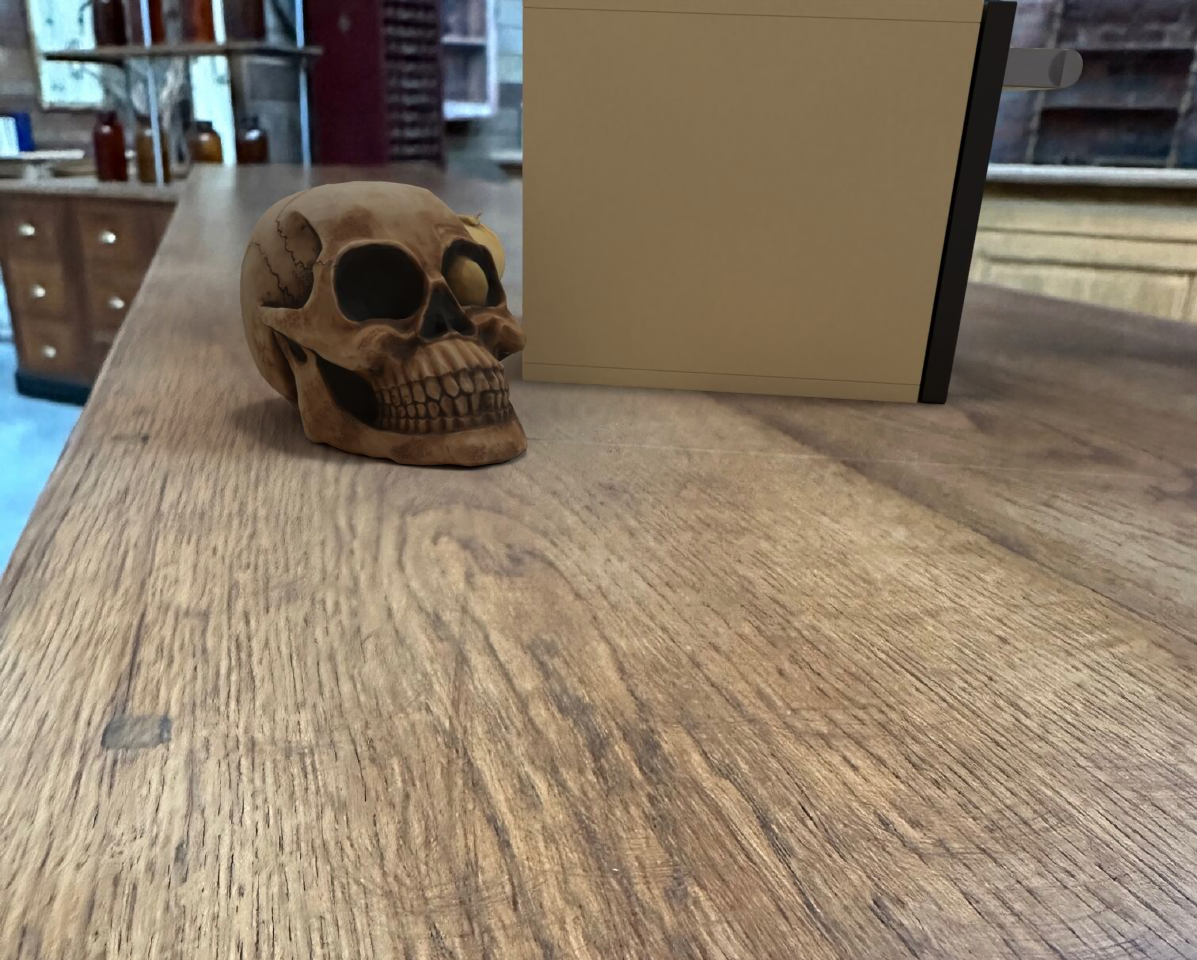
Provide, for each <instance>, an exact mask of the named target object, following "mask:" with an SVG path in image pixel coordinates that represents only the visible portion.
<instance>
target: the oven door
mask: <svg viewBox="0 0 1197 960" xmlns="http://www.w3.org/2000/svg"><path fill="white" fill-rule="evenodd" d="M1017 9H1018V1H1017V0H988V1H984V5H983V11H982V17H981V22H980V28H979V34H978V40H977V46H976V52H975V58H974V64H973V70H972V76H971V82H970V88H969V94H968V100H967V106H966V112H965V118H964V124H963V130H962V136H961V142H960V148H959V154H958V160H957V166H956V172H955V178H954V184H953V190H952V196H951V202H950V208H949V214H948V220H947V226H946V232H945V238H944V244H943V250H942V256H941V262H940V268H939V274H938V280H937V286H936V292H935V298H934V304H933V310H932V316H931V322H930V328H929V334H928V340H927V346H926V352H925V357H924V363H923V369H922V375H921V381H920V385H919V386H920V387H919V393H918V399H919V400H920V402H921V403H928V404H929V403H930V404H931V403H932V404H946V403H947V399H948V394H949V388H950V383H951V377H952V372H953V366H954V360H955V356H956V355H955V354H956V348H957V345H958V344H957V343H958V338H959V332H960V328H961V321H962V316H963V310H964V305H965V298H966V294H967V288H968V282H969V278H970V271H971V266H972V260H973V254H974V249H975V244H976V237H977V232H978V227H979V226H978V225H979V222H980V221H979V220H980V214H981V211H982V210H981V209H982V205H983V199H984V194H985V193H984V192H985V187H986V181H987V177H988V169H989V166H990V165H989V164H990V160H991V155H992V148H993V144H994V143H993V142H994V137H995V136H994V135H995V131H996V126H997V120H998V115H999V108H1000V103H1001V98H1002V92H1019V91H1023V92H1024V91H1039V90H1041V91H1042V90H1061V89H1062V90H1063V89H1067V88H1070V87H1072V86H1073V85H1074V84H1075V83H1077V81H1078V80H1079V79H1080V77H1081V75H1082V71H1083V68H1084V67H1083V66H1084V65H1083V59H1082V56H1081V54H1080V53H1079V52H1078V51H1076V49H1073V48H1058V47H1057V48H1055V47H1028V46H1027V47H1025V46H1011V41H1012V36H1013V32H1014V25H1015V19H1016V13H1017Z"/></svg>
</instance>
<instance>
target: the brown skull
mask: <svg viewBox="0 0 1197 960" xmlns="http://www.w3.org/2000/svg"><path fill="white" fill-rule="evenodd" d="M456 214H457V213H456V212H454V211H453V210H452V209H451V208H450V207H449V206H448V205H447V204H446V203H445V202H444V201H443V200H442V199H440V198H439V197H438V196H436V195H435V194H434V193H433V192H432V191H430V190H429V189H427V188H423V187H420V186H416V185H412V184H407V183H401V182H400V183H399V182H391V181H384V180H383V181H380V180H379V181H374V180H373V181H372V180H371V181H370V180H367V181H366V180H365V181H364V180H353V181H348V182H347V181H346V182H339V183H326V184H321V185H317V186H313V187H311V188H308V189H303V190H301V191H298V192H295V193H293V194H291V195H288V196H285V197H284V198H282V199H280V200H278V201H277V202H275V203H274V204H273V205H271V206H270V207H269V208H268V209H267V210H265V212H264V213H263V214H262V215H261V217H260V218H259V219H258V221H257V222H256V224H255V225H254V227H253V229H252V231H251V233H250V236H249V239H248V242H247V245H246V249H245V253H244V256H243V259H242V262H241V265H240V279H239V301H240V311H241V312H240V313H241V319H242V325H243V329H244V335H245V338H246V343H247V347H248V350H249V353H250V355H251V358H252V359H253V362H254V364H255V367H256V369H257V370H258V372H259V374H260V376H262V378H263V379H264V380H265V381H266V383H267V384H268V385H269V386H270V387H271V388H272V389H273V390H274V391H275V392H276V393H278V394H279V395H281V396H283V398H285V399H286V401H287V402H288V403H289V404H290V405H292V406H293V407H294V408H295V409H296V410H297V412H298V413H299V414H300V417H301V422H302V426H303V430H304V433H305V437H306V438H307V439H308V440H310V442H312V443H315V444H316V443H317V444H318V443H321V444H322V443H323V444H325V443H326V444H328V445H330V447H331V446H332V447H334V448H336V449H339V450H343V451H344V452H347V453H350V454H354V455H365V456H366V457H367V456H368V457H370V458H375V459H377V458H378V459H390V460H392V461H394V462H395V463H397V464H404V465H417V466H418V465H419V466H437V465H454V466H455V465H456V466H463V467H474V466H475V467H476V466H483V465H491V464H497V463H503V462H506V461H508V460H511V459H514V458H515V457H518V456H519V455H520V454H522V453H524V452H526V451H527V449H528V438H527V436H526V433H525V430H524V427H523V424H522V422H521V421H520V419H519V417H518V415H517V414H516V411H515V408H514V406H513V404H512V402H511V400H510V396H511V393H510V383H509V381H508V378H507V375H506V372H505V371H506V370H505V366H504V365H503V363H501V361H503V360H504V359H506V358H509V357H510V356H512V355H514V354H517V353H518V352H520V351H522V350H523V349H524V348H525V346H526V344H527V339H526V335H525V333H524V331H523V329H522V325H521V324H520V323H519V321H518V320H517V319H516V317H515V316H514V315H513V314H512V313H511V311H510V310H509V308H508V302H507V295H506V292H505V289H504V286H503V284H502V282H501V280H499V276H498V271H497V268H496V264H495V261H494V258H493V255H492V252H491V250H490V249H489V248H488V246H485V245H482V244H479V243H478V242H476V241H475V240H473V238H472V236H471V235H470V233H469V232H468V230H467V229H466V228H465V226H464V225H463V223H462V222H461V221H460V219H459V218H458V216H457V215H456Z"/></svg>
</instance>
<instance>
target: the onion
mask: <svg viewBox="0 0 1197 960" xmlns="http://www.w3.org/2000/svg"><path fill="white" fill-rule="evenodd" d="M455 214H456V215H457V216H458V218H459V219H460V221H461V222H462V223H463V225H464V226H465V228H466V229H467V230H468V232H469V233H470V235H471V236H472V238H473V240H475V241H476V242H478V243H479V244H482V245H485V246H488V248H489V249H490V250H491V252H492V255H493V258H494V261H495V264H496V268H497V271H498V276H499V280H500V281H501V280H502V279H503V277H504V274H505V269H506V255H505V250H504V247H503V244H502V242H501V240H500V238H499V236H498V235H497V234H496V232H495V231H493V229H491V228H490V227H488V226H487V225H486V224H484V223H482V222H481V221H480V220H479V218H480V216H481V215H483V214H484V211H481V212H479V213H477V214H476V215H471V214H459V213H455Z"/></svg>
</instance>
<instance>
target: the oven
mask: <svg viewBox="0 0 1197 960" xmlns="http://www.w3.org/2000/svg"><path fill="white" fill-rule="evenodd" d="M521 1H522V160H521V161H522V170H521V171H522V172H521V173H522V174H521V175H522V178H521V179H522V181H521V182H522V193H521V194H522V195H521V197H522V207H521V208H522V210H521V211H522V214H521V215H522V218H521V219H522V221H521V222H522V234H521V235H522V241H521V242H522V245H521V246H522V248H521V249H522V251H521V252H522V253H521V255H522V261H521V262H522V269H521V271H522V273H521V274H522V275H521V276H522V277H521V279H522V280H521V283H522V285H521V286H522V289H521V290H522V291H521V292H522V293H521V294H522V296H521V297H522V299H521V300H522V301H521V302H522V303H521V305H522V311H521V312H522V313H521V315H522V316H521V317H522V318H521V319H522V321H521V322H522V325H521V327H522V329H523V331H524V333H525V335H526V339H527V344H526V346H525V348H524V349H523V350H521V351H522V359H521V360H522V367H521V369H522V375H521V376H522V381H525V382H526V381H527V382H544V383H548V382H549V383H559V384H560V383H562V384H564V383H565V384H580V385H595V384H599V385H598V386H615V387H629V388H630V387H631V388H632V387H633V388H647V389H648V388H650V389H665V388H666V390H667V389H668V390H681V391H682V390H683V391H684V390H685V391H699V392H700V391H701V392H702V391H703V392H719V393H738V394H753V395H771V396H787V397H788V396H789V397H807V398H826V399H841V400H857V401H858V400H862V401H876V402H893V403H909V404H910V403H911V404H917V403H918V400H919V397H918V393H919V387H920V386H919V385H920V381H921V375H922V369H923V363H924V357H925V352H926V346H927V340H928V334H929V328H930V322H931V316H932V310H933V304H934V298H935V292H936V286H937V280H938V274H939V268H940V262H941V256H942V250H943V244H944V238H945V232H946V226H947V220H948V214H949V208H950V202H951V196H952V190H953V184H954V178H955V172H956V166H957V160H958V154H959V148H960V142H961V136H962V130H963V124H964V118H965V112H966V106H967V100H968V94H969V88H970V82H971V76H972V70H973V64H974V58H975V52H976V46H977V40H978V34H979V28H980V22H981V17H982V11H983V5H984V3H985V0H521Z"/></svg>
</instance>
